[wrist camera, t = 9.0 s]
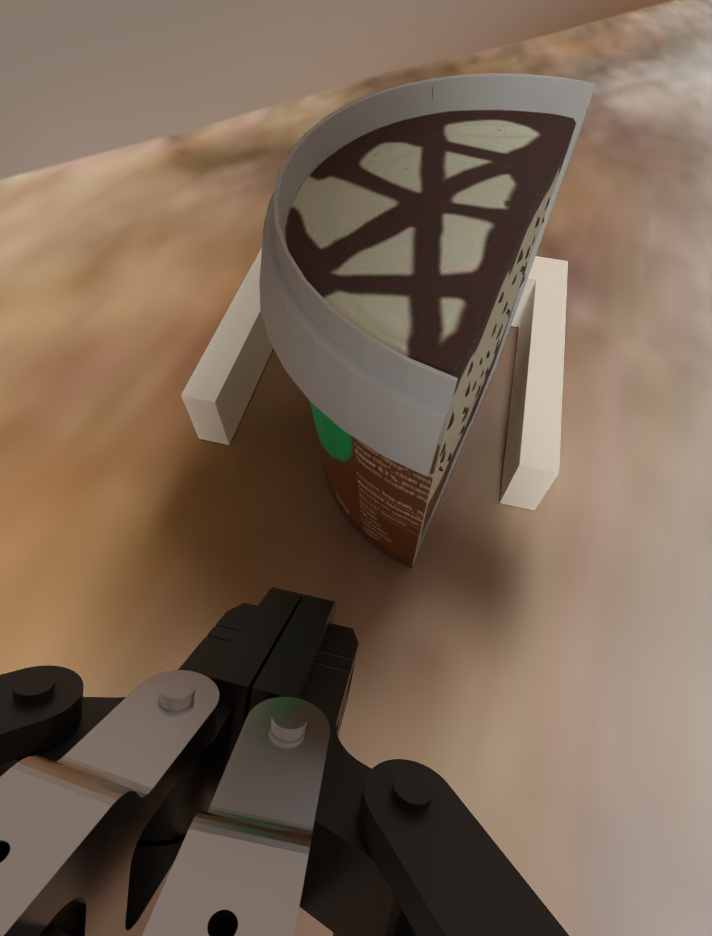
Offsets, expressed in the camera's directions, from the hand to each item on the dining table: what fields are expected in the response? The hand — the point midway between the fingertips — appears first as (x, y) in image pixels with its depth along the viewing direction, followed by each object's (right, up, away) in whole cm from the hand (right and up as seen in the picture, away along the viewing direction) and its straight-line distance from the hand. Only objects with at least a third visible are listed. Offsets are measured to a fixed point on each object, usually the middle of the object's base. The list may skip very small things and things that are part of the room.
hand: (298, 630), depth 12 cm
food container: (+2, +5, +8) cm, 10 cm away
